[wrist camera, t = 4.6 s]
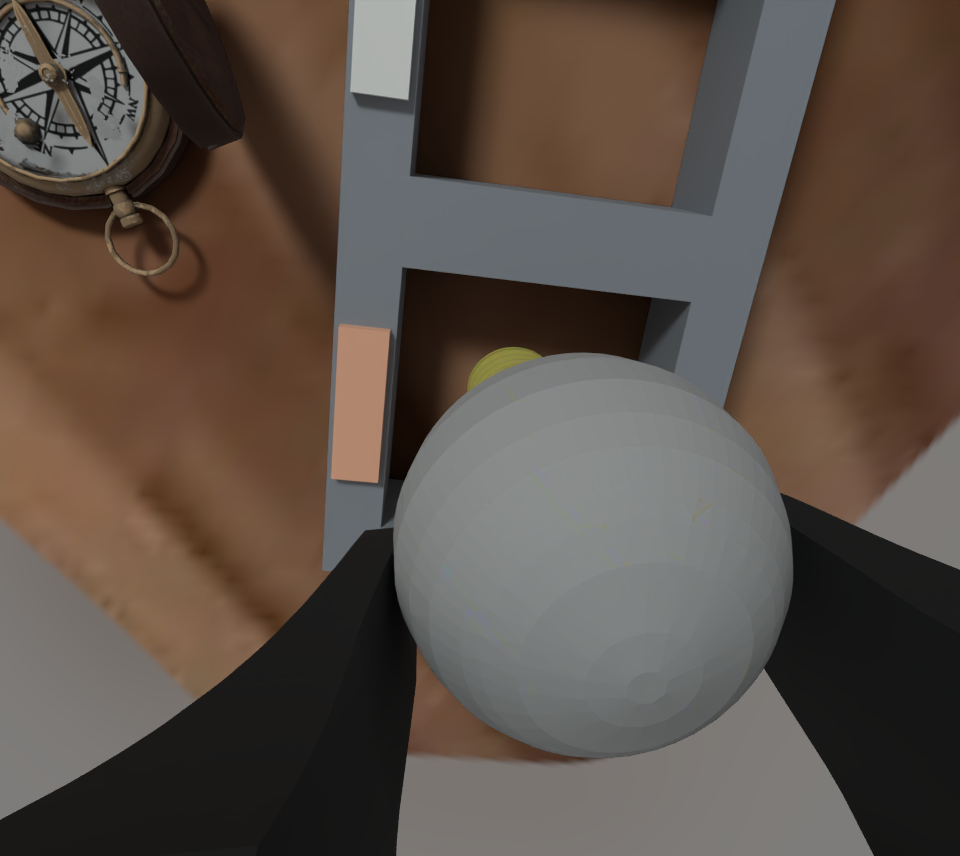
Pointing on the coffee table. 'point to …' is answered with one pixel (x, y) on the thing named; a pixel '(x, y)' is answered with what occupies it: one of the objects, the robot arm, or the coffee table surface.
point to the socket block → (551, 225)
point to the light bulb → (591, 553)
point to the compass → (109, 101)
